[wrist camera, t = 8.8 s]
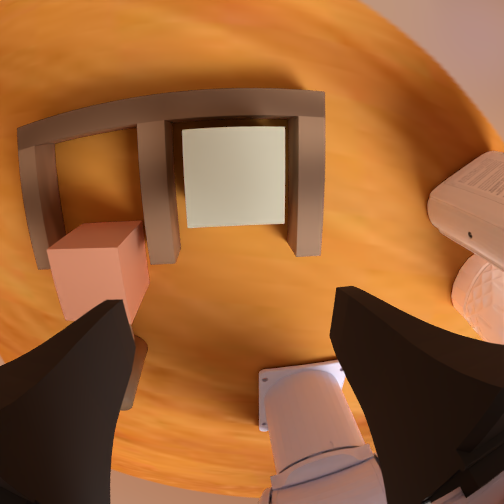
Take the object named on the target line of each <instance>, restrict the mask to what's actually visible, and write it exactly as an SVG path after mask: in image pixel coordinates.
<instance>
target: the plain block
mask: <svg viewBox="0 0 504 504" xmlns="http://www.w3.org/2000/svg"><path fill="white" fill-rule="evenodd" d="M182 144H183V167H184V184H185V200H186V213H187V226H188V228H197V227H216V226H237V225H260V224H284V223H285V127H269V126H252V127H217V128H199V129H185V130H182Z"/></svg>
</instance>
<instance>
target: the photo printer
mask: <svg viewBox="0 0 504 504" xmlns="http://www.w3.org/2000/svg"><path fill="white" fill-rule="evenodd" d="M427 209H428V216H429V219H430V221H431V223H432V224H433V225H434V226H435V227H437V228H438V229H439V232H440V233H442V234H443V235H444V236H446V237H448V238H449V239H451V240H452V241H454V242H456V243H458V244H459V245H461V246H463V247H464V248H466V249H468V250H469V251H471V252H473V253H474V254H476V255H477V256H479V257H481V258H482V259H484V260H485V261H487V262H488V263H490V264H491V265H493V266H494V267H496V268H497V269H499V270H501V271H502V272H504V153H503V152H498V151H489V152H486V153H484V154H482V155H481V156H479V157H478V158H476V159H475V160H473V161H472V162H470V163H469V164H467V165H466V166H465V167H463V168H462V169H460V170H459V171H457V172H456V173H455V174H453V175H452V176H450V177H449V178H447V179H446V180H445V181H444V182H442V183H441V184H440V185H438V186H437V187H436V188H435V189H434V190H433V191H432V192H431V193H430V198H429V199H428V205H427Z"/></svg>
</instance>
